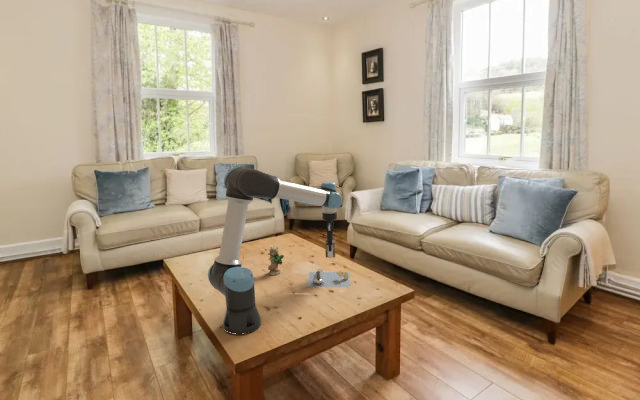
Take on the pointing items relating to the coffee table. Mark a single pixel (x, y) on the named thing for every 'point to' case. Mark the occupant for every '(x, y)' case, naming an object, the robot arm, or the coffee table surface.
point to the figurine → (274, 261)
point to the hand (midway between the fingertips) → (330, 254)
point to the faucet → (320, 281)
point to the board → (328, 280)
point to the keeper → (343, 275)
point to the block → (333, 248)
